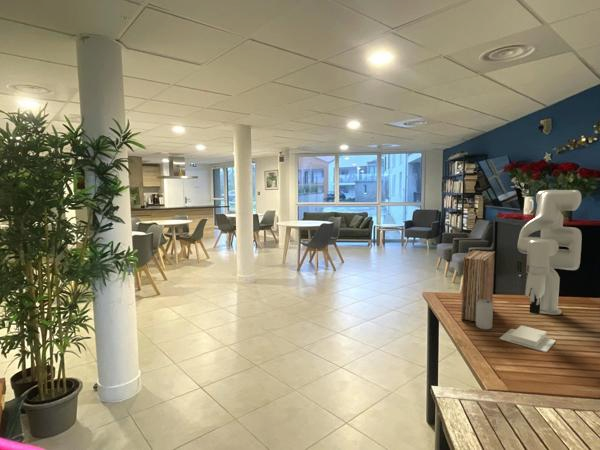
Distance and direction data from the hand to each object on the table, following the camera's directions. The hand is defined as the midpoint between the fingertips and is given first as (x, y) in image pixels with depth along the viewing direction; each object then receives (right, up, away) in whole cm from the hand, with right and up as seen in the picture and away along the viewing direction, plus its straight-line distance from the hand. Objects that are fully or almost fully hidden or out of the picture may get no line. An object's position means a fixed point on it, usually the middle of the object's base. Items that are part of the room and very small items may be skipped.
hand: (534, 313), depth 143 cm
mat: (-6, -10, -4) cm, 12 cm away
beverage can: (-17, -9, +9) cm, 21 cm away
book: (-11, -7, +25) cm, 28 cm away
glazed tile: (0, -8, +1) cm, 8 cm away
